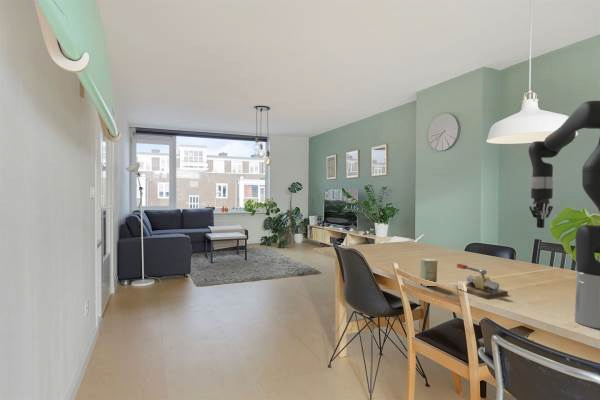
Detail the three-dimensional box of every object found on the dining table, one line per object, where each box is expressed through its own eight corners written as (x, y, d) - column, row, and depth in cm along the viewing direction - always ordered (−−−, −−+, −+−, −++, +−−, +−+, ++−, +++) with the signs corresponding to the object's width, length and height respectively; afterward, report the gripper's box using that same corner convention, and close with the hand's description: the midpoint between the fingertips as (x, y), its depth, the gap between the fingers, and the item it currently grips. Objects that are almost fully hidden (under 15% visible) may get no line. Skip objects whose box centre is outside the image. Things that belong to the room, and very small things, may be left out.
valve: (499, 293, 140) (500, 277, 140) (492, 294, 138) (493, 278, 138) (472, 285, 152) (473, 270, 152) (465, 285, 150) (466, 270, 150)
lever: (487, 274, 144) (488, 270, 144) (483, 274, 143) (483, 271, 143) (460, 266, 157) (460, 263, 157) (456, 267, 156) (456, 263, 156)
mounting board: (507, 294, 143) (507, 291, 143) (485, 298, 137) (485, 294, 137) (478, 286, 156) (478, 282, 155) (456, 289, 150) (456, 285, 150)
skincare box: (425, 287, 152) (426, 260, 152) (419, 284, 156) (420, 258, 156) (437, 286, 154) (438, 260, 153) (431, 283, 158) (431, 258, 158)
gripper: (542, 188, 150) (540, 226, 150) (523, 187, 144) (521, 227, 145) (560, 188, 143) (559, 228, 143) (541, 187, 137) (540, 229, 138)
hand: (540, 227), depth 144 cm, fingers closed
